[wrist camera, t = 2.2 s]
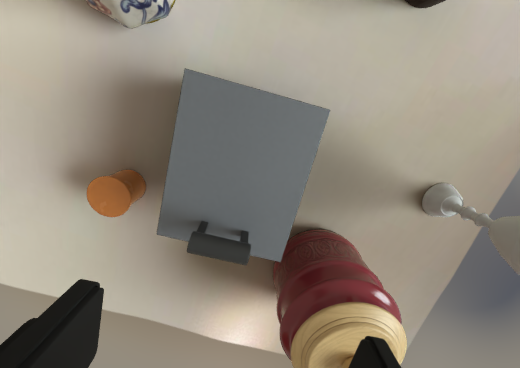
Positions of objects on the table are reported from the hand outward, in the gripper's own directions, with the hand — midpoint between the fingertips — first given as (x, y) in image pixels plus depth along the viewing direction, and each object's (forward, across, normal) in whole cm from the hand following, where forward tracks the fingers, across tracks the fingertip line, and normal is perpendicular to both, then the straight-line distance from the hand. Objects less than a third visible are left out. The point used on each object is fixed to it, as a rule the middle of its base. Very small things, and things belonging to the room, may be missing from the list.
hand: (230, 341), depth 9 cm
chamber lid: (+16, +1, -2) cm, 16 cm away
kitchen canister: (+26, -13, +11) cm, 31 cm away
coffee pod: (+26, +15, +5) cm, 30 cm away
